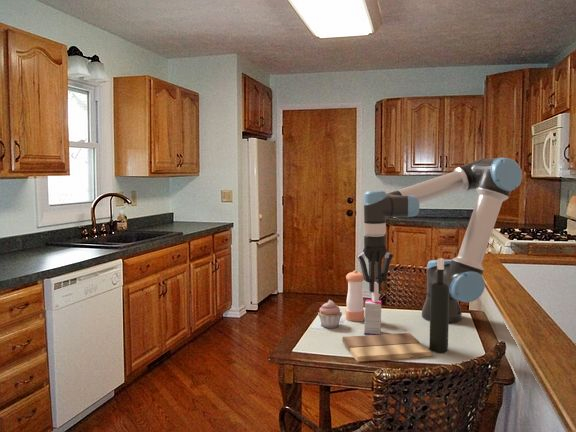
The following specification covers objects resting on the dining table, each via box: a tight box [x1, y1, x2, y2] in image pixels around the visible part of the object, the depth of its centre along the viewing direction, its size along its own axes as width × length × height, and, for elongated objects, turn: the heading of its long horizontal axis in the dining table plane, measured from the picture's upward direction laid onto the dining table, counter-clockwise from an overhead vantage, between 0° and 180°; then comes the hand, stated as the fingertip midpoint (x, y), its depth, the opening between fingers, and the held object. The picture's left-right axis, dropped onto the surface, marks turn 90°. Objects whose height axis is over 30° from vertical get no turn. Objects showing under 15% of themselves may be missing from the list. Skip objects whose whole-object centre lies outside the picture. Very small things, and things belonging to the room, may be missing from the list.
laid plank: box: [349, 343, 432, 363], centre depth 163 cm, size 24×8×2 cm, turn 100°
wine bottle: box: [428, 257, 449, 354], centre depth 166 cm, size 6×6×30 cm
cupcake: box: [317, 299, 343, 329], centre depth 193 cm, size 9×9×10 cm
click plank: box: [341, 332, 420, 353], centre depth 172 cm, size 24×8×2 cm, turn 100°
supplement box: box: [363, 299, 382, 336], centre depth 185 cm, size 6×6×12 cm
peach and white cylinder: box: [345, 270, 365, 322], centre depth 202 cm, size 7×7×19 cm
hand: (375, 300), depth 183 cm, fingers closed
